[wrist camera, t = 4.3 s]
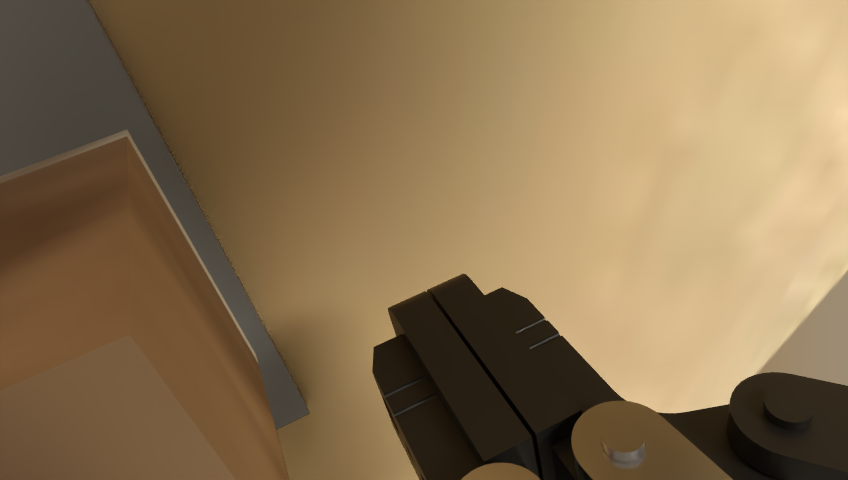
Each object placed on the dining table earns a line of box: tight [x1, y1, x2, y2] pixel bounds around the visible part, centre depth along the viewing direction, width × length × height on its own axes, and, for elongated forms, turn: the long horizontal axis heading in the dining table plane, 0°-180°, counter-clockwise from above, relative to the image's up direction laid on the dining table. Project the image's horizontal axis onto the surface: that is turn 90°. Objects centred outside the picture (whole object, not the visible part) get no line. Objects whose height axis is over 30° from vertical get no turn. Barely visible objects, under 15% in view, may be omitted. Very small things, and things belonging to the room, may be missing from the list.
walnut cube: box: [0, 130, 289, 480], centre depth 12 cm, size 7×7×7 cm
